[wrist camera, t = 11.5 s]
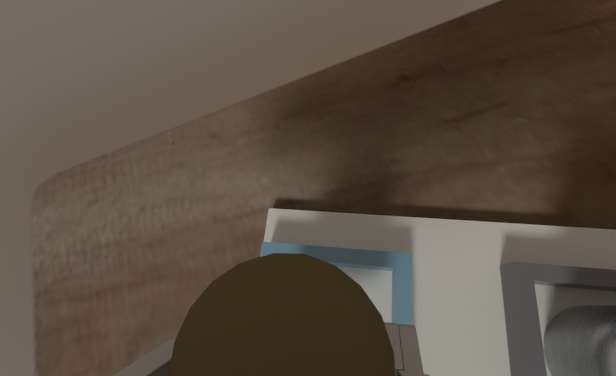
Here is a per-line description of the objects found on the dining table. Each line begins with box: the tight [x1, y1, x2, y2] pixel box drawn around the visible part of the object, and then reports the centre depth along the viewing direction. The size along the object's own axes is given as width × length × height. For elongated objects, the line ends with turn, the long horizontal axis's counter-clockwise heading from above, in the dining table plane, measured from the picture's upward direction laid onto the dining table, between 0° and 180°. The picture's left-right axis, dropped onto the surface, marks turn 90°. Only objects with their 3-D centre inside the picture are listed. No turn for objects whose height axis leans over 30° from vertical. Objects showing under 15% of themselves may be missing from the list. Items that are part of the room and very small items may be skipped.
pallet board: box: [260, 208, 616, 376], centre depth 19 cm, size 27×16×3 cm, turn 84°
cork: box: [168, 253, 395, 376], centre depth 11 cm, size 6×6×11 cm
